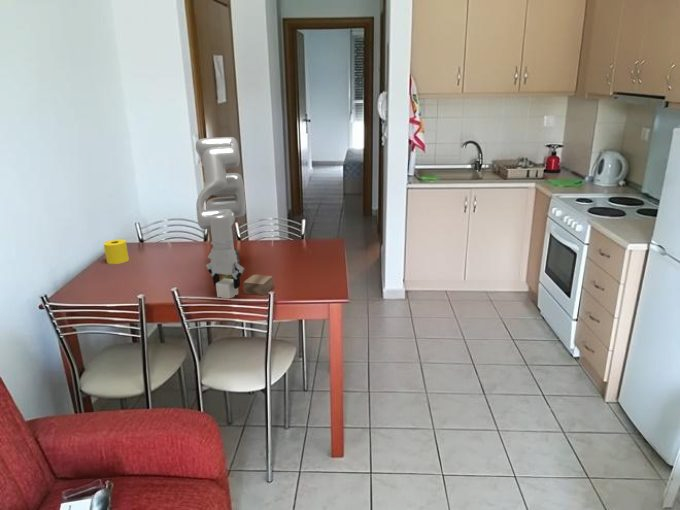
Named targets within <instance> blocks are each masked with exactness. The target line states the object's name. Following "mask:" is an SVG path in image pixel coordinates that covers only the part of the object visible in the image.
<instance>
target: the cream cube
mask: <svg viewBox="0 0 680 510" xmlns="http://www.w3.org/2000/svg"><path fill="white" fill-rule="evenodd" d="M215 289H216V295H217V296H216V297H217V298H219V297H221V299H226V298H231V299H232V298H234V297H235V295H236V296H237V295H239V287H238V288H237V289H235V288H234V282H233V279H227V278H224V279H222V280H221V281H219V282H217V283H216V286H215Z"/></svg>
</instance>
